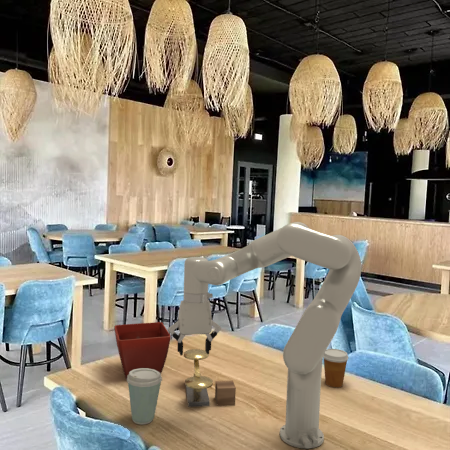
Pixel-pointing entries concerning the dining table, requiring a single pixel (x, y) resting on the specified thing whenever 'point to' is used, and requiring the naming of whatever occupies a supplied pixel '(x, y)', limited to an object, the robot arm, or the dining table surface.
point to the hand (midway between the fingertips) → (194, 352)
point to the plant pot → (142, 346)
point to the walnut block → (225, 393)
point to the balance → (197, 381)
